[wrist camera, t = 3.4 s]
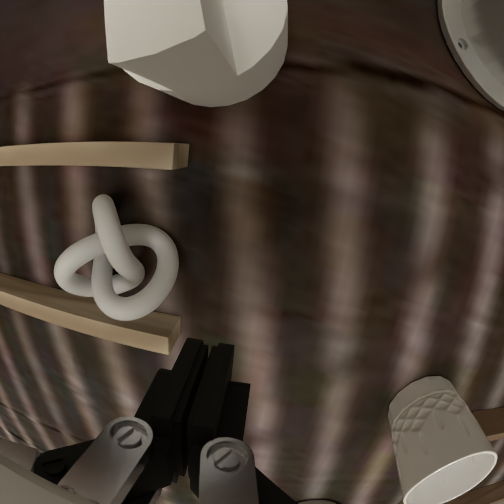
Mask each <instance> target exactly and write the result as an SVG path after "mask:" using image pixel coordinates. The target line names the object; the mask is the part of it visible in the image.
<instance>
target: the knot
mask: <svg viewBox="0 0 504 504" xmlns="http://www.w3.org/2000/svg"><path fill="white" fill-rule="evenodd" d="M92 210H93V217H94V222H95V234H92V235H90V236H88V237H85V238H83V239H81V240H79V241H78V242H76V243H74V244H73V245H71V246H70V247H68V248H67V249H66V250H65V251H64V252H63V253H62V254H61V255H60V256H59V258H58V259H57V261H56V264H55V267H54V276H55V279H56V282H57V283H58V285H59V286H60V287H61V288H62V289H64V290H65V291H67V292H69V293H71V294H74V295H78V296H84V297H94V300H95V302H96V304H97V306H98V307H99V308H100V310H101V311H102V312H103V313H104V314H106V315H107V316H109V317H111V318H113V319H116V320H120V321H131V320H136V319H139V318H141V317H144V316H146V315H148V314H149V313H151V312H152V311H154V310H155V309H156V308H157V307H158V306H159V305H161V304H162V302H163V301H164V300H165V299H166V297H167V296H168V295H169V293H170V291H171V290H172V288H173V285H174V283H175V281H176V278H177V274H178V268H179V258H178V252H177V249H176V246H175V244H174V242H173V241H172V239H171V238H170V237H169V236H168V235H167V234H166V233H165V232H164V231H162V230H161V229H159V228H157V227H154V226H151V225H147V224H127V225H122V226H121V224H120V221H119V218H118V214H117V211H116V208H115V205H114V202H113V200H112V198H111V197H110V196H108V195H105V194H102V195H99V196H97V197H96V198H95V199H94V201H93V204H92ZM134 245H143V246H147V247H150V248H151V249H153V250H154V252H155V253H156V256H157V267H156V271H155V273H154V275H153V277H152V279H151V280H150V282H149V283H148V284H147V286H146V287H145V288H144V289H142V290H141V291H140V292H138V293H137V294H135V295H133V296H130V297H120V296H118V295H117V294H120V293H123V292H126V291H129V290H131V289H133V288H135V287H136V286H138V285H139V284H140V283H141V282H142V281H143V279H144V276H145V270H144V267H143V265H142V264H141V263H140V261H139V260H138V259H137V258H136V257H135V256H134V255H133V253H132V252H131V250H130V247H129V246H134ZM92 259H94V260H93V267H92V277H86V276H82V275H79V274H77V273H75V272H76V270H77V269H78V268H80V267H81V266H82V265H84V264H85V263H87V262H89V261H90V260H92ZM113 268H114V269H115V270H116V271H117V272H118V273H119V274H116V275H112V271H113Z"/></svg>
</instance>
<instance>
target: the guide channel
mask: <svg viewBox="0 0 504 504" xmlns="http://www.w3.org/2000/svg"><path fill="white" fill-rule="evenodd" d="M189 145H190V144H181V143H161V142H119V141H100V142H60V143H40V144H26V145H13V146H3V147H0V166H19V165H79V166H112V167H134V168H151V169H166V170H174V169H179V168H184V167H188V156H189ZM0 304H1V305H3V306H6V307H8V308H11V309H14V310H16V311H19V312H22V313H24V314H27V315H30V316H33V317H36V318H38V319H41V320H44V321H47V322H50V323H53V324H56V325H59V326H62V327H65V328H69V329H72V330H75V331H78V332H82V333H85V334H88V335H92V336H95V337H99V338H102V339H106V340H110V341H113V342H117V343H121V344H125V345H129V346H133V347H137V348H141V349H145V350H149V351H153V352H158V353H162V354H167V355H169V353H170V352H171V350H172V348H173V346H174V344H175V342H176V341H177V339H178V337H179V335H180V333H181V316H175V315H170V314H165V313H160V312H155V311H152V312H151V313H149V314H148V315H146V316H144V317H141V318H139V319H136V320H131V321H120V320H116V319H113V318H111V317H109V316H107V315H106V314H104V313H103V312H102V311H101V310H100V308H99V307H98V306H97V304H96V302H95V300H94V298H91V297H84V296H78V295H74V294H71V293H69V292H67V291H63V290H59V289H55V288H52V287H48V286H44V285H41V284H37V283H33V282H30V281H26V280H23V279H20V278H16V277H13V276H9V275H6V274H3V273H0Z"/></svg>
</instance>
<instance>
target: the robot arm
mask: <svg viewBox="0 0 504 504" xmlns="http://www.w3.org/2000/svg"><path fill="white" fill-rule="evenodd" d="M437 4H438V17H439V21H440V25H441V29H442V32H443V35H444V37H445V40H446V43H447V45H448V47H449V49H450V51H451V53H452V55H453V57H454V59H455V61H456V62H457V64H458V65H459V67H460V68H461V70H462V71H463V73H464V75H465V76H466V77H467V78H468V79H469V81H470V82H471V83H472V85H473V86H474V87H475V88H476V89H477V90H478V91H479V92H480V93H481V94H482V95H483V96H484V97H485V98H486V99H487V100H488V101H489V102H491V103H492V104H493V105H495V106H496V107H497V108H499V109H501V110H503V111H504V0H438V2H437ZM233 356H234V345H230V344H223V343H219V344H218V347H216V346H212V348H211V351H210V354H209V357H208V345H204V344H203V340H199V339H193V338H187V339H186V341H185V343H184V345H183V348H182V350H181V352H180V354H179V356H178V358H177V360H176V362H175V364H174V366H173V368H172V370H167V369H162V368H161V369H159V371H158V372H157V374H156V376H155V378H154V380H153V382H152V383H151V385H150V387H149V389H148V391H147V393H146V395H145V397H144V399H143V401H142V403H141V405H140V406H139V408H138V410H137V412H136V414H135V416H134V417H120V418H117V419H115V420H112V421H111V422H110V423H109V424H108V425H107V426H106V427H105V428H104V429H103V431H102V432H101V433H100V434H99V435H98V437H97V438H96V439H93V440H90V441H86V442H82V443H78V444H75V445H71V446H66V447H62V448H58V449H54V450H49V451H46V452H44V453H41V452H39V450H38V449H36V448H32V447H28V446H25V445H22V444H18V443H15V442H12V441H9V440H6V439H3V438H0V504H155V503H156V501H157V499H158V498H159V496H160V494H161V491H162V488H164V487H166V486H169V485H171V482H174V483H177V480H178V477H179V475H180V476H185V473H186V470H187V466H188V473H189V478H190V488H191V490H192V491H193V493H194V494H195V495H196V496H197V497H198V498H199V503H198V504H298V503H297V502H296V501H294V500H293V499H292V498H291V497H289V496H288V495H287V494H286V493H285V492H283V491H282V490H281V489H280V488H279V487H278V486H276V485H275V484H274V483H273V482H272V481H271V480H269V479H268V478H267V477H266V476H265V475H264V474H263V473H262V472H260V471H259V470H258V469H257V468H256V467H255V461H254V455H253V452H252V450H251V449H250V447H249V446H248V445H247V444H245V443H244V442H243V436H244V428H245V421H246V414H247V406H248V399H249V391H250V384H248V383H241V382H234V381H231V375H232V366H233Z"/></svg>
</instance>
